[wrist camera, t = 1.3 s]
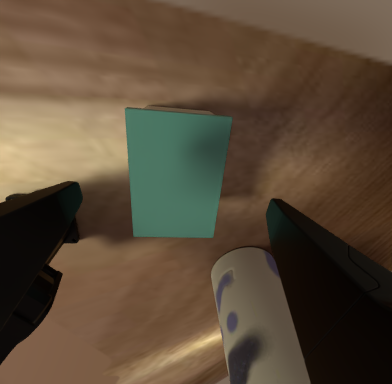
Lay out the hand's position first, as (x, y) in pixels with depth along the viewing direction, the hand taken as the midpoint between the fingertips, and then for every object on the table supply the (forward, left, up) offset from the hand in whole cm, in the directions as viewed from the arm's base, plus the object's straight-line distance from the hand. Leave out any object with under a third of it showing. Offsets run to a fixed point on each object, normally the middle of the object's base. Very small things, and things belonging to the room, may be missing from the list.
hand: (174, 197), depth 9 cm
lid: (-2, 0, -7) cm, 7 cm away
